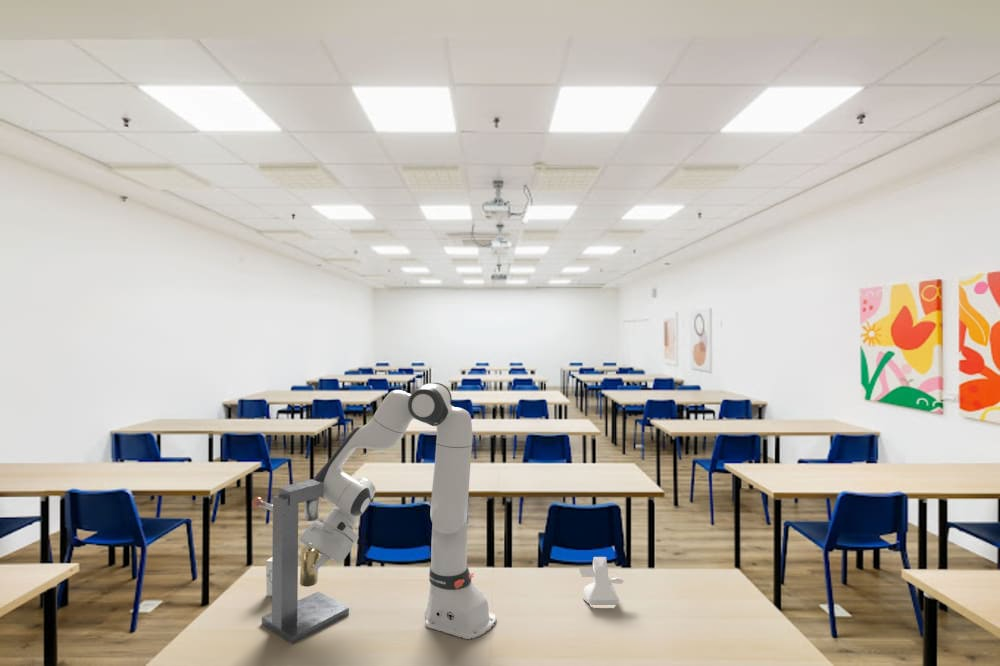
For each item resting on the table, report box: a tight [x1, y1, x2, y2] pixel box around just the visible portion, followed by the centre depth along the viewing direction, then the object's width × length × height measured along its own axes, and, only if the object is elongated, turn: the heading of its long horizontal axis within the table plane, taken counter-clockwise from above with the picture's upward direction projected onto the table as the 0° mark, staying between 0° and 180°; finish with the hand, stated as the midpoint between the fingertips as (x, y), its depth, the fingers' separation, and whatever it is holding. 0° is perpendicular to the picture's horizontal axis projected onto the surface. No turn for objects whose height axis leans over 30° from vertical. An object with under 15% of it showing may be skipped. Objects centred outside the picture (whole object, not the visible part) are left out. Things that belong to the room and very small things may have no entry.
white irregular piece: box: [578, 556, 625, 606], centre depth 168 cm, size 8×14×14 cm, turn 91°
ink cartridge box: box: [265, 556, 272, 597], centre depth 173 cm, size 9×5×15 cm, turn 168°
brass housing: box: [299, 543, 320, 587], centre depth 159 cm, size 5×5×12 cm
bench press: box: [251, 478, 350, 645], centre depth 159 cm, size 25×19×41 cm
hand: (307, 565), depth 158 cm, fingers closed on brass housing, 5 cm apart
